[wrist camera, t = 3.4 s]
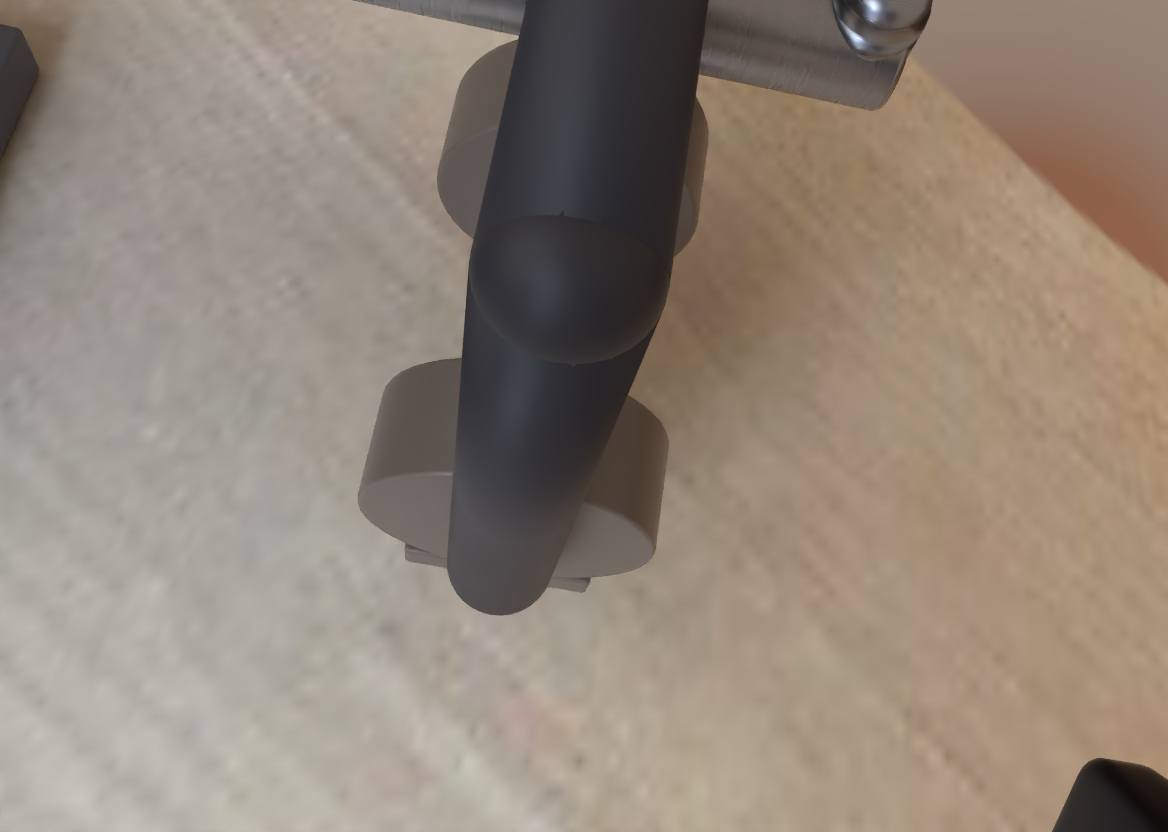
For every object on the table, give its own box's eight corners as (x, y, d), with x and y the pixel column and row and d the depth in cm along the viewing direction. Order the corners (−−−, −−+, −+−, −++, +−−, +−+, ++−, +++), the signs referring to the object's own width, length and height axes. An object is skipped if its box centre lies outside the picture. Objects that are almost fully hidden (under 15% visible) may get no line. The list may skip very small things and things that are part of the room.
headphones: (612, 672, 17) (879, 376, 7) (347, 625, 17) (240, 250, 7) (681, 180, 20) (920, -470, 11) (464, 135, 20) (505, -573, 10)
